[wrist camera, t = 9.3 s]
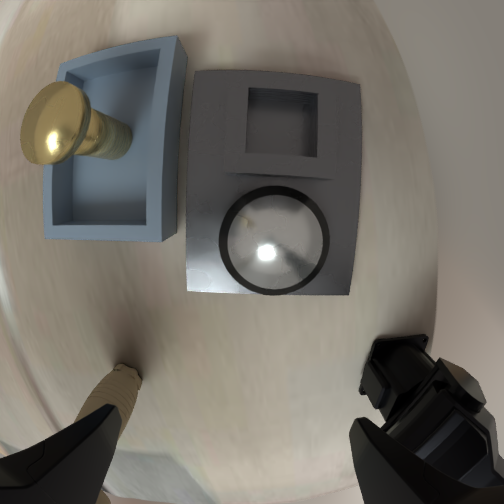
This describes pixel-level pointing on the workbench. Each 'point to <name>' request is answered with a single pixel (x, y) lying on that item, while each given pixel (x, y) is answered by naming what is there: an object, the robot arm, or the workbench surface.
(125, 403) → the handle
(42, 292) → the workbench surface
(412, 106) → the workbench surface
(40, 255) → the workbench surface
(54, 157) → the pin
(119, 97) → the pin tray
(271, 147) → the grey socket base
